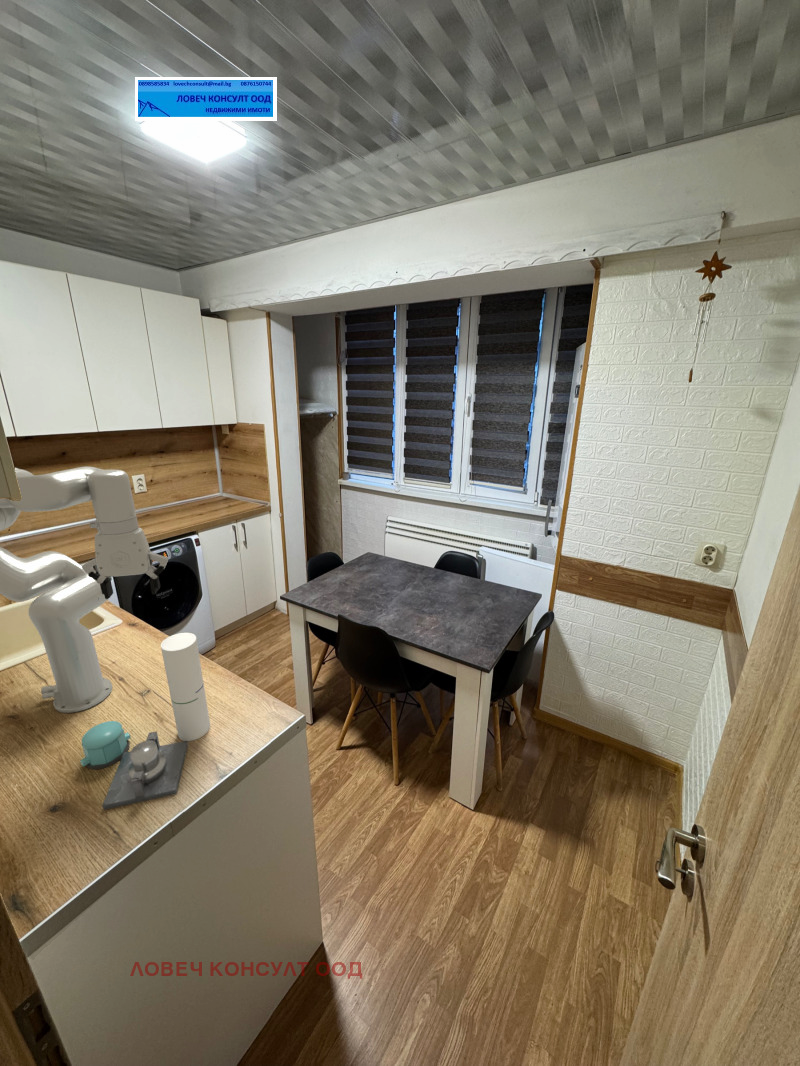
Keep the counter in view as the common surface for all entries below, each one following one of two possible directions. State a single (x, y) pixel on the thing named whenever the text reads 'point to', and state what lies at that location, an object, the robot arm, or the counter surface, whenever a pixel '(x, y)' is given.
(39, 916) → the counter surface
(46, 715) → the counter surface
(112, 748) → the cap
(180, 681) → the cylindrical container
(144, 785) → the grey square base plate
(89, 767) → the coaster
